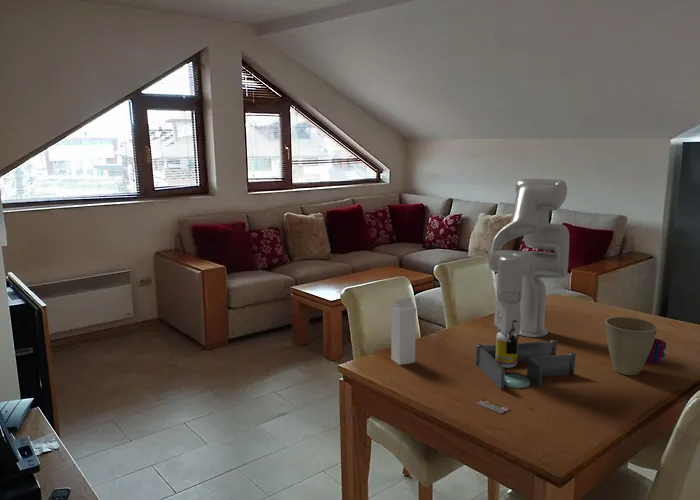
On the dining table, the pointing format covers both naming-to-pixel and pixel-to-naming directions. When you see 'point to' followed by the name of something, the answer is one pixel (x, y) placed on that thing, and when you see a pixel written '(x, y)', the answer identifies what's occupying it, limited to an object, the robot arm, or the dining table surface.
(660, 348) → the mug
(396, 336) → the milk
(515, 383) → the pad
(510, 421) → the dining table surface
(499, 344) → the supplement bottle
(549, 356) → the gray wall barrier
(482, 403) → the chocolate bar
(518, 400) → the dining table surface
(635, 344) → the plant pot
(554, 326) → the dining table surface
